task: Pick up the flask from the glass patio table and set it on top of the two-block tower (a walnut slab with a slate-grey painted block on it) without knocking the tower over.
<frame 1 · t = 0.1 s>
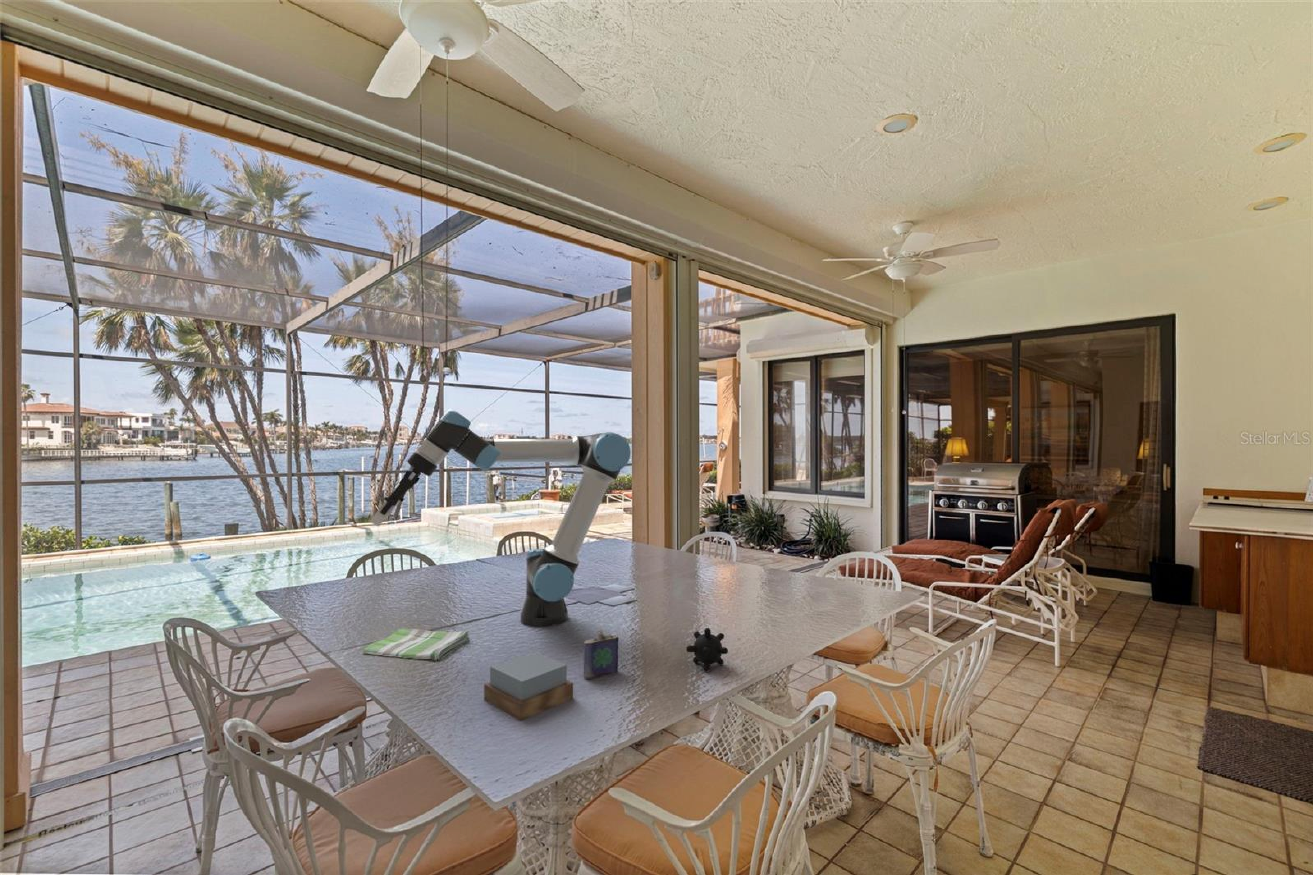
hand: (377, 520, 156), 36 cm above the table, tool tilted 35°, fingers open, 13 cm apart
tower top block: (528, 683, 127), point 3 cm above the table, touching tower base block
tower base block: (528, 701, 127), on the table, touching tower top block
flask: (600, 675, 140), on the table
dish towel: (418, 649, 159), on the table
toy ball: (705, 667, 146), on the table
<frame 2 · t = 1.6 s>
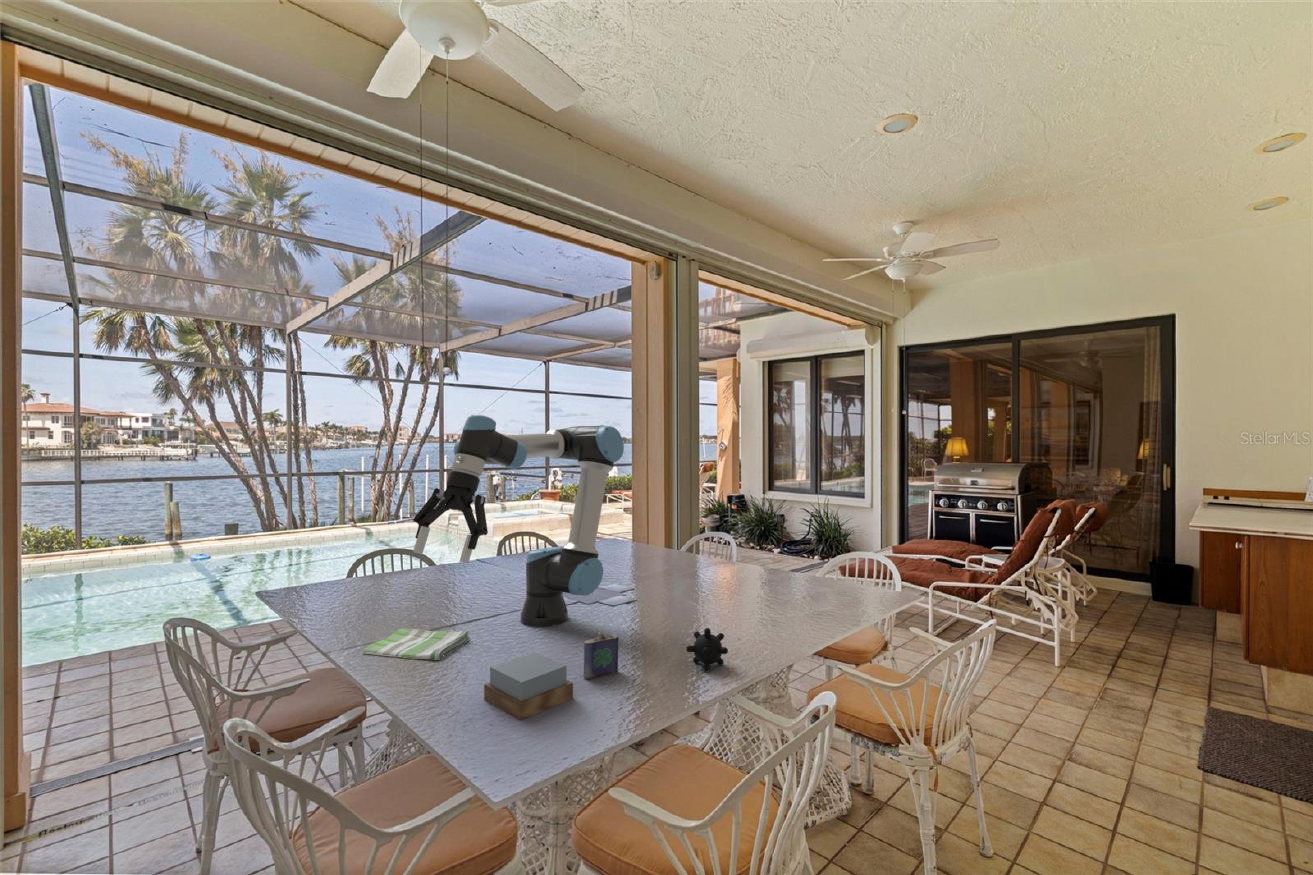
hand: (440, 557, 137), 30 cm above the table, tool tilted 20°, fingers open, 13 cm apart
tower top block: (528, 684, 127), point 3 cm above the table
tower base block: (528, 701, 127), on the table
everything else where it was.
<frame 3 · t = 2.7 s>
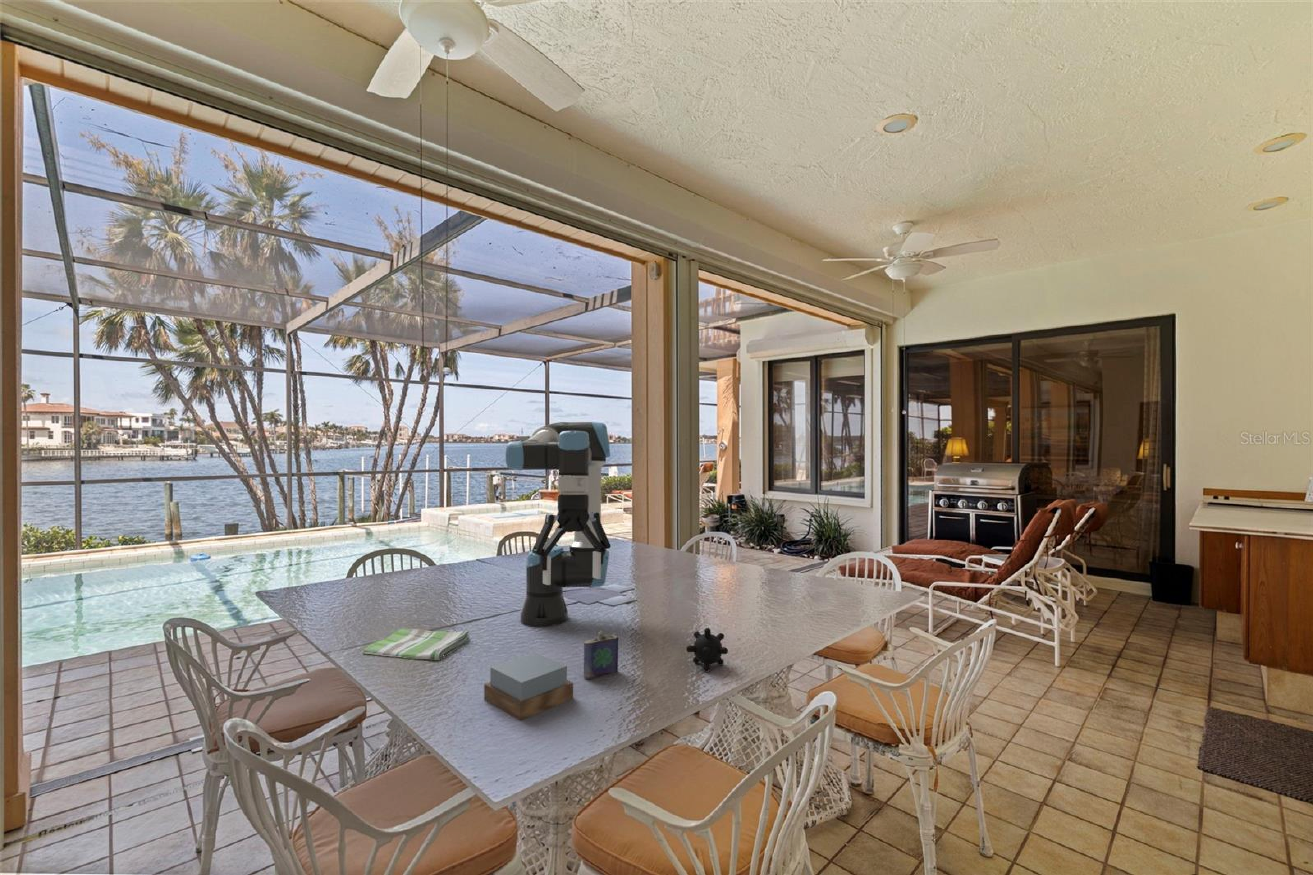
hand: (572, 581, 137), 24 cm above the table, tool pointing down, fingers open, 13 cm apart
nothing on the table moved.
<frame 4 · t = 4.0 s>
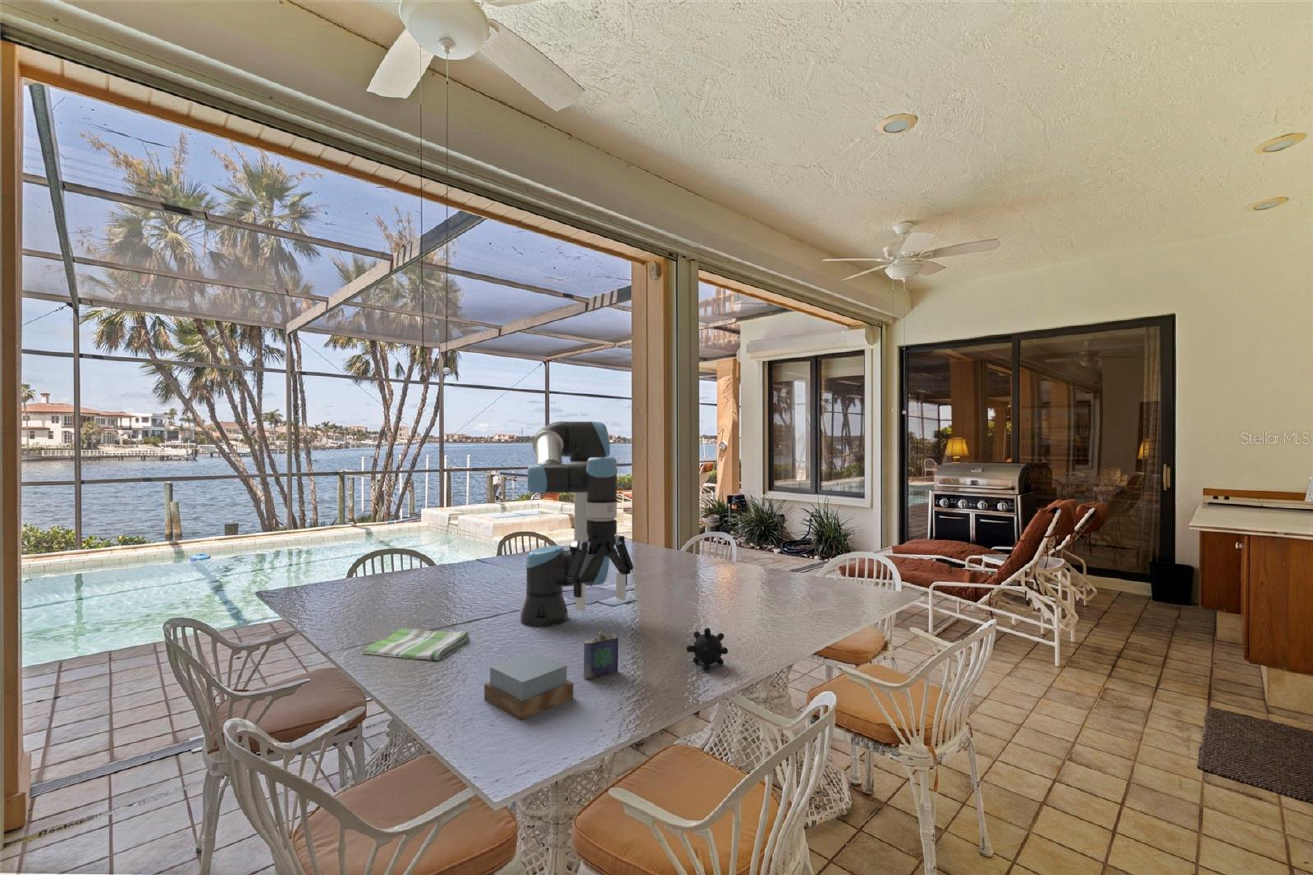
hand: (601, 604, 140), 17 cm above the table, tool pointing down, fingers open, 13 cm apart
tower top block: (528, 684, 127), point 3 cm above the table, touching tower base block
tower base block: (528, 701, 127), on the table, touching tower top block
everything else where it was.
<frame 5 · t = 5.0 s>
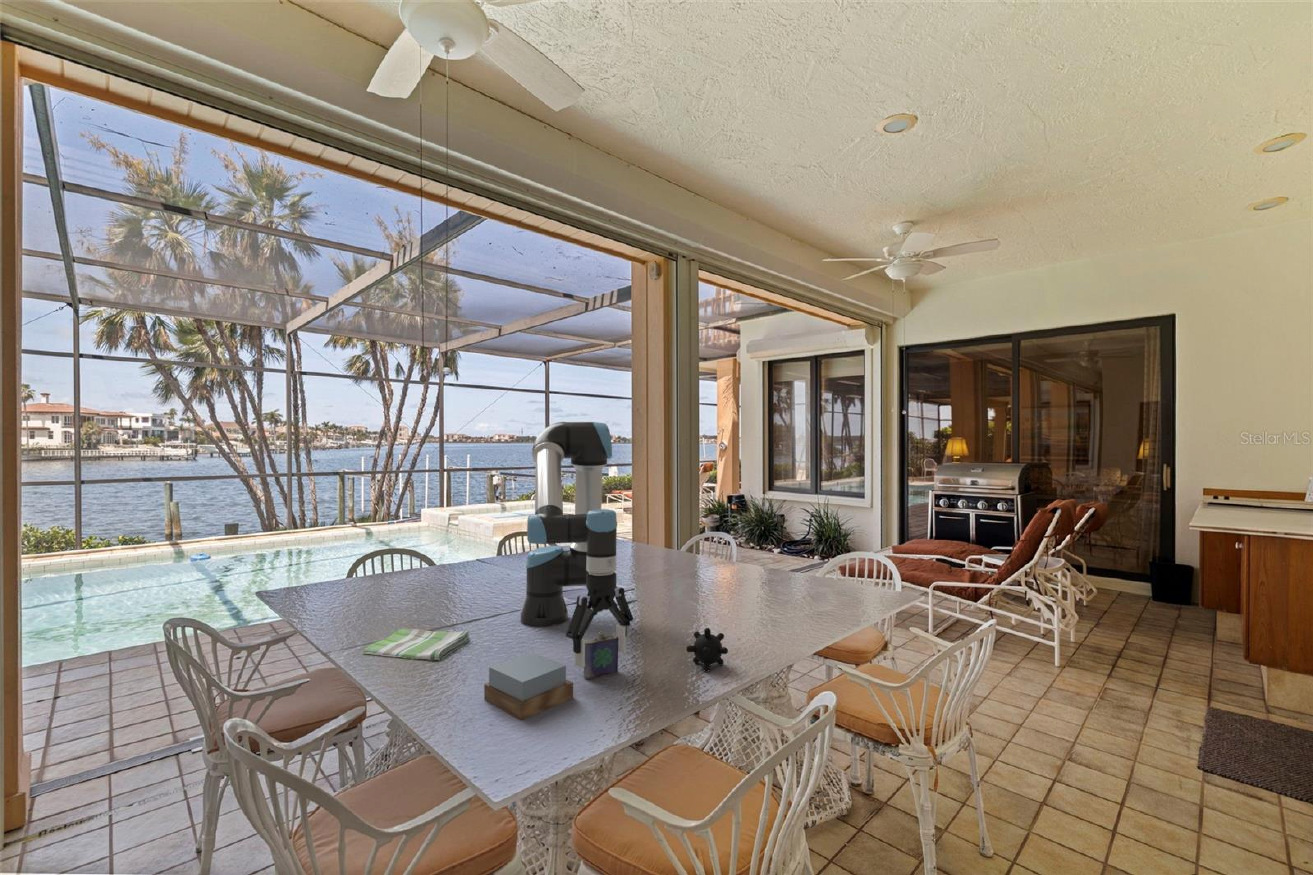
hand: (601, 658, 140), 4 cm above the table, tool pointing down, fingers open, 13 cm apart
nothing on the table moved.
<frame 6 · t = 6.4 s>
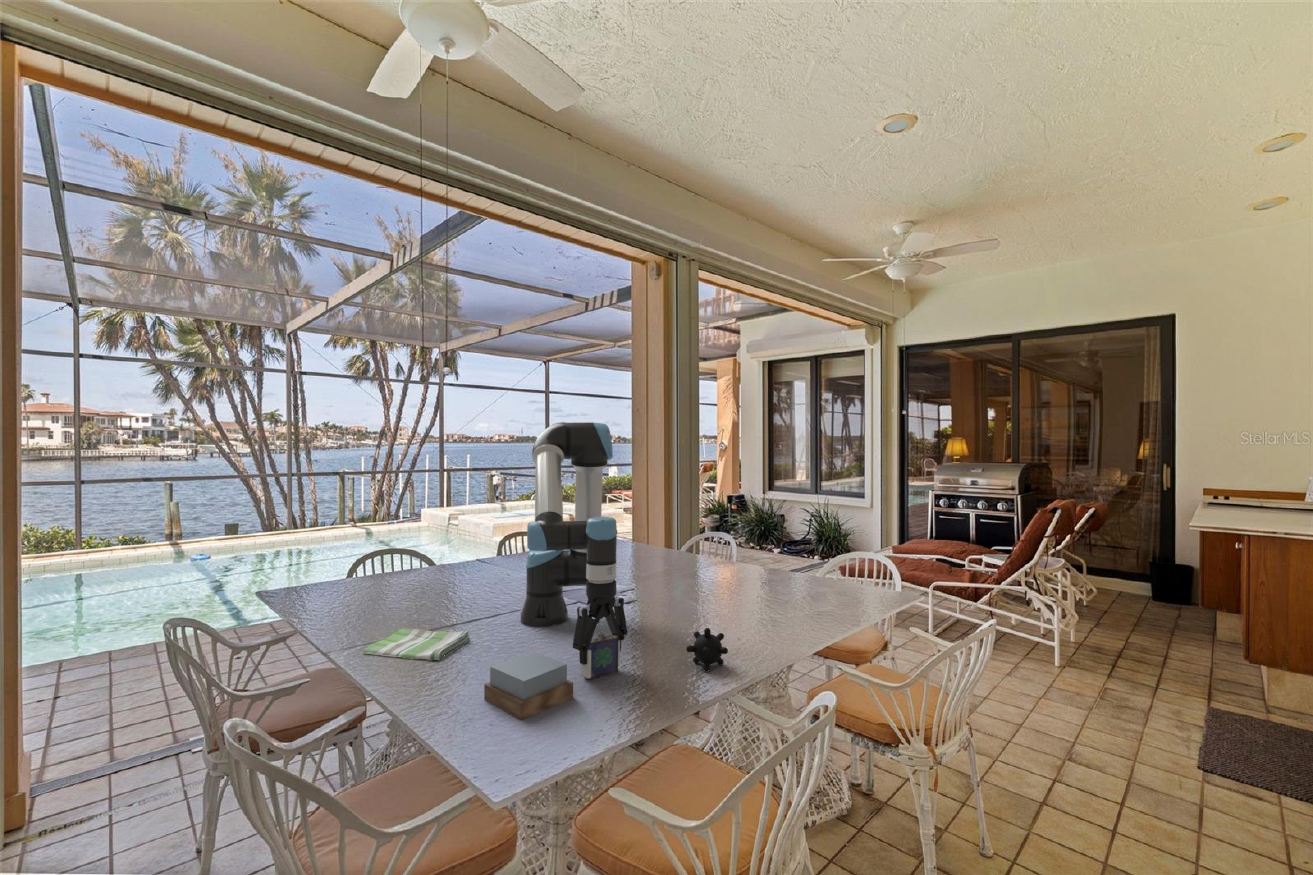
hand: (600, 670, 140), 1 cm above the table, tool pointing down, fingers closed on flask, 9 cm apart
flask: (600, 675, 140), on the table, touching gripper
everything else where it was.
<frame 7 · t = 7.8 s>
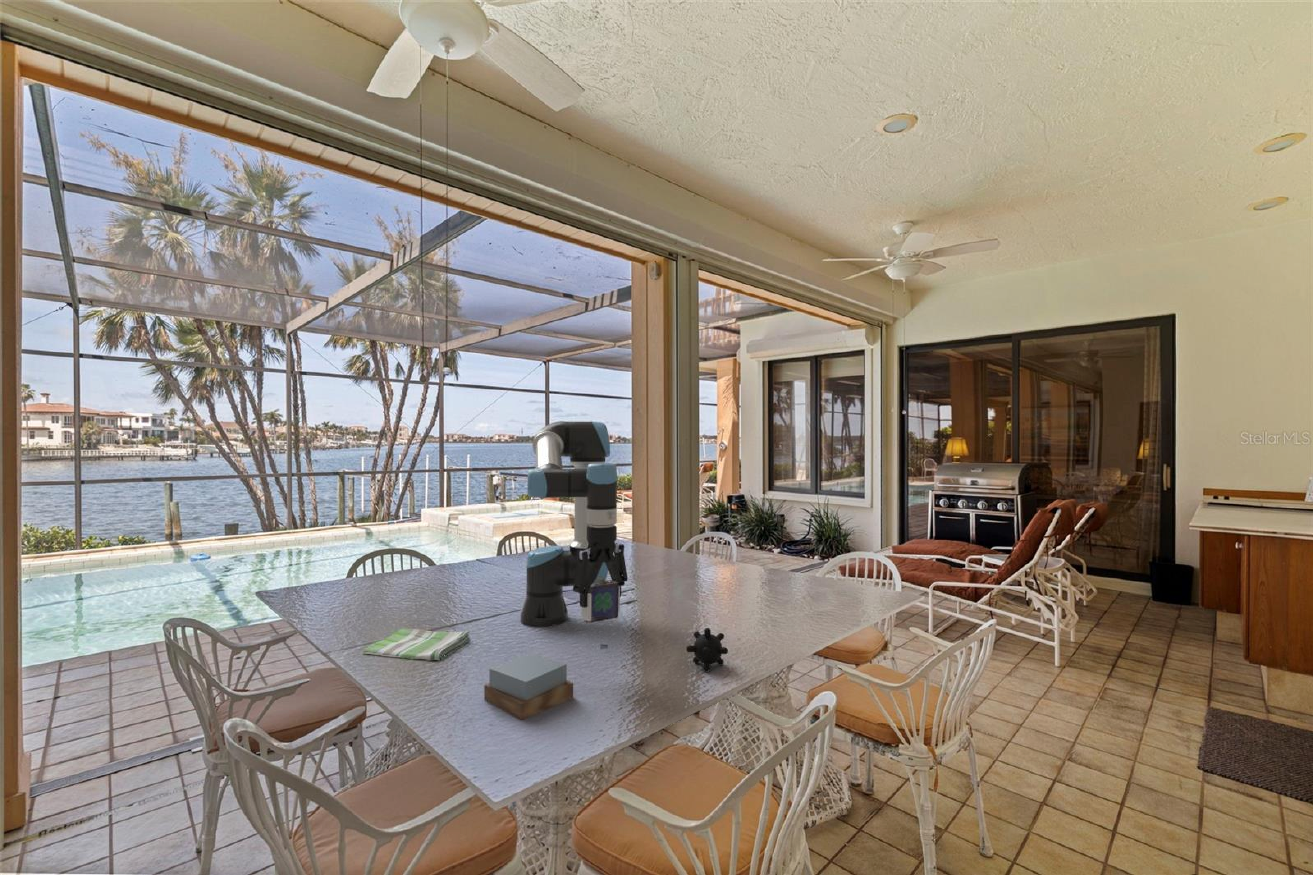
hand: (601, 615, 141), 15 cm above the table, tool pointing down, fingers closed on flask, 9 cm apart
flask: (601, 620, 141), point 13 cm above the table, touching gripper
everything else where it was.
when the fingers open (11 cm above the table, at t = 12.1 s): flask drops 2 cm, resting on tower top block.
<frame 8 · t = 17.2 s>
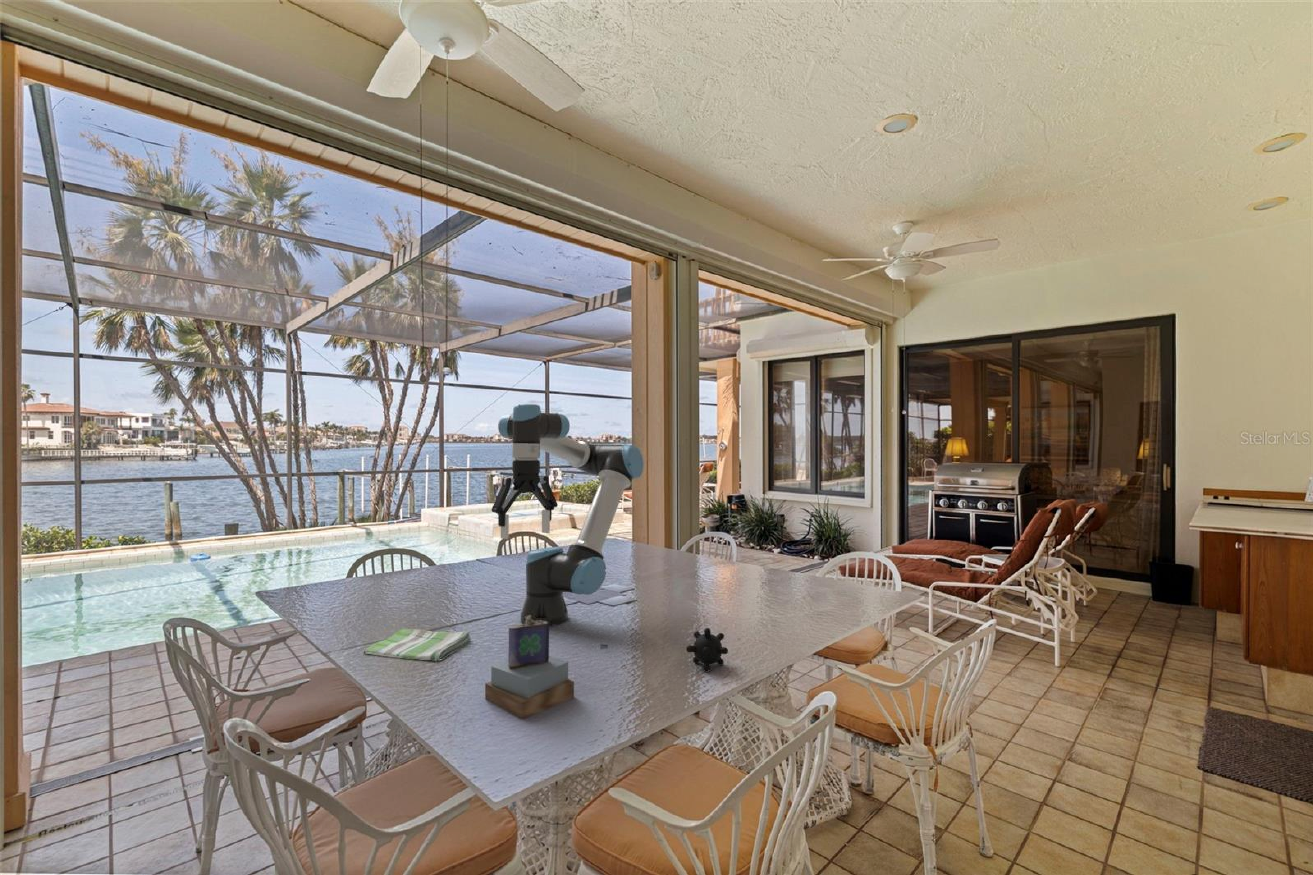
hand: (525, 535, 157), 32 cm above the table, tool pointing down, fingers open, 13 cm apart
tower top block: (530, 681, 128), point 3 cm above the table, touching flask, tower base block
flask: (528, 665, 128), point 7 cm above the table, touching tower top block
everything else where it was.
at the end: flask 0.2 cm off-centre on the tower top block, point 3.9 cm above the tower top block's base; tower top block 0.2 cm off-centre on the tower base block, point 4.0 cm above the tower base block's base; tower base block moved 0.9 cm from its start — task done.
